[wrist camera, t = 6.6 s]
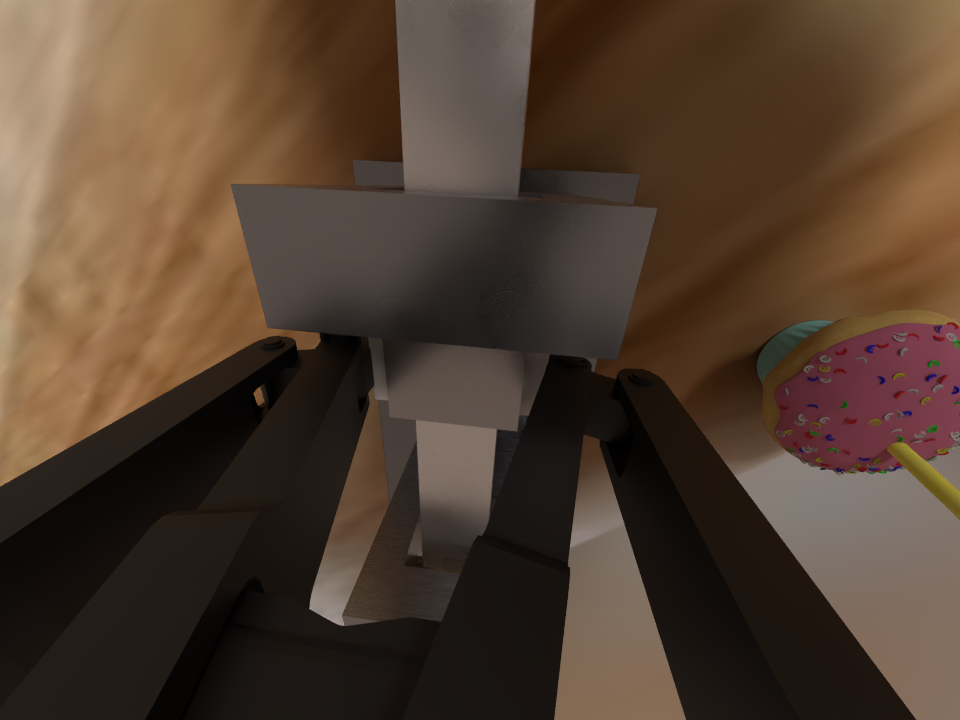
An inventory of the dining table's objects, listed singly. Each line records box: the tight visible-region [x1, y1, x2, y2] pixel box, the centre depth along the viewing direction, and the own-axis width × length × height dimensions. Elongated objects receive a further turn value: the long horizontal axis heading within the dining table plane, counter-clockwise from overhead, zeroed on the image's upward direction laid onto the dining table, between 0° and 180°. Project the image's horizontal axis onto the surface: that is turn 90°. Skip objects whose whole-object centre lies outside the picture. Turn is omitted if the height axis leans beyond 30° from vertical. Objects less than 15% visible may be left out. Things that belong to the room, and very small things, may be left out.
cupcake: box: [757, 310, 960, 519], centre depth 15 cm, size 9×8×12 cm
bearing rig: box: [231, 160, 658, 626], centre depth 18 cm, size 25×14×14 cm, turn 177°
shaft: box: [382, 0, 536, 572], centre depth 12 cm, size 24×4×4 cm, turn 177°
